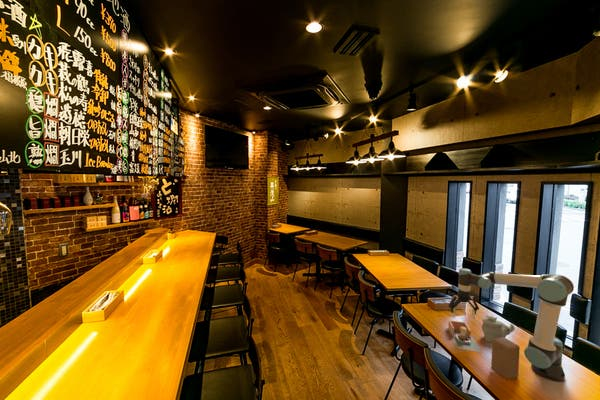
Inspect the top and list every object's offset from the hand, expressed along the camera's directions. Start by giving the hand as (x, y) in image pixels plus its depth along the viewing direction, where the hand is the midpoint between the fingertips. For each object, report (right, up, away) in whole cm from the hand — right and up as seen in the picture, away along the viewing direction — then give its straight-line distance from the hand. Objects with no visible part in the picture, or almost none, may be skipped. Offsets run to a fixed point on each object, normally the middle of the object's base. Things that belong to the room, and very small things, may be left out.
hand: (463, 317), depth 189 cm
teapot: (+26, -19, +1) cm, 32 cm away
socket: (0, -19, +1) cm, 19 cm away
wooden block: (+6, -21, -30) cm, 37 cm away
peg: (0, -18, +1) cm, 18 cm away
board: (+2, -19, +3) cm, 19 cm away
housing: (+2, -17, +9) cm, 19 cm away
